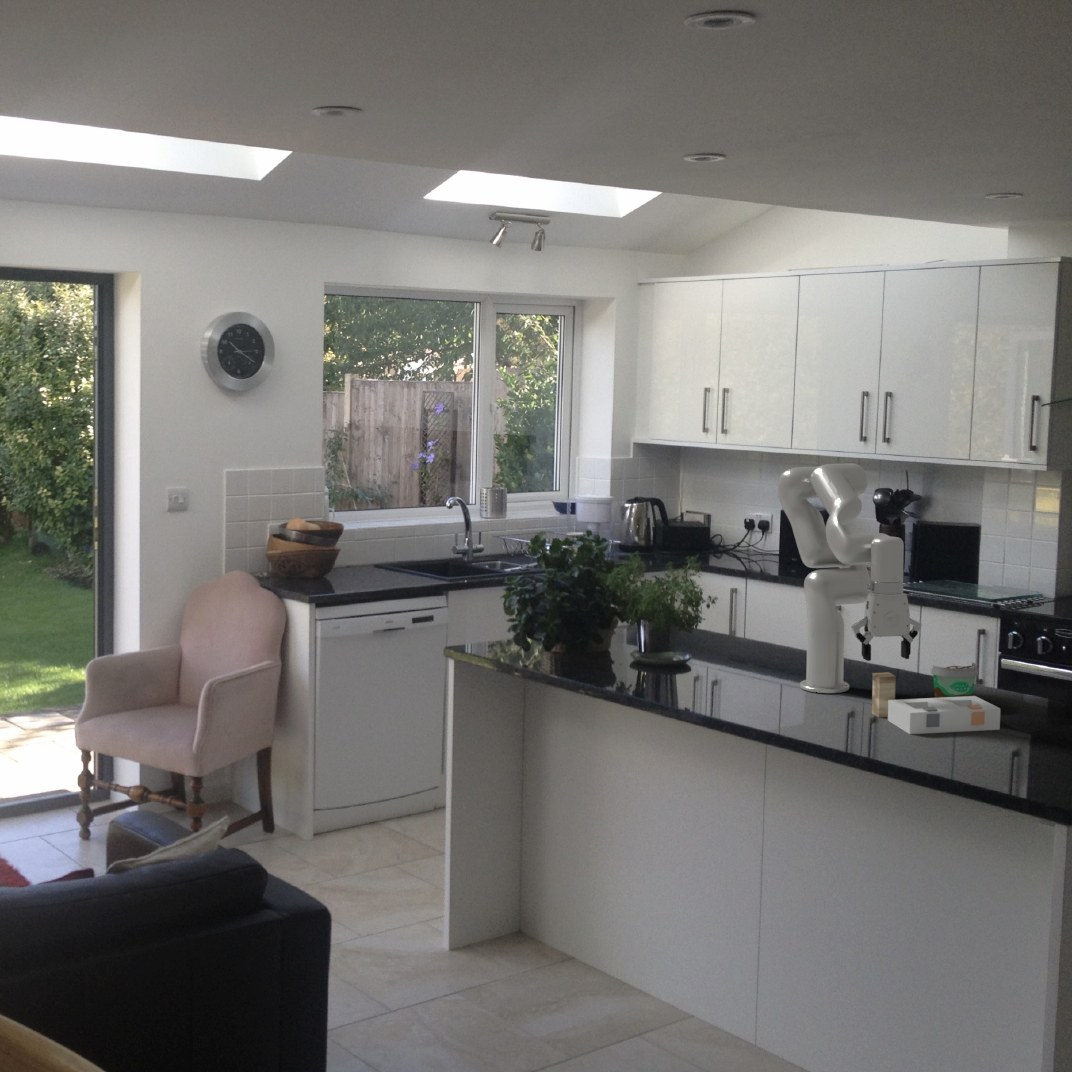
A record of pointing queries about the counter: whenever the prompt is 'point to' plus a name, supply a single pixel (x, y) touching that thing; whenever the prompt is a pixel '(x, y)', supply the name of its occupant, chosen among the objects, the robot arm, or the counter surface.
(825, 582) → the robot arm
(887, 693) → the plug
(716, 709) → the counter surface
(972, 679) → the food container
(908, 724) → the socket block
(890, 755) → the counter surface
